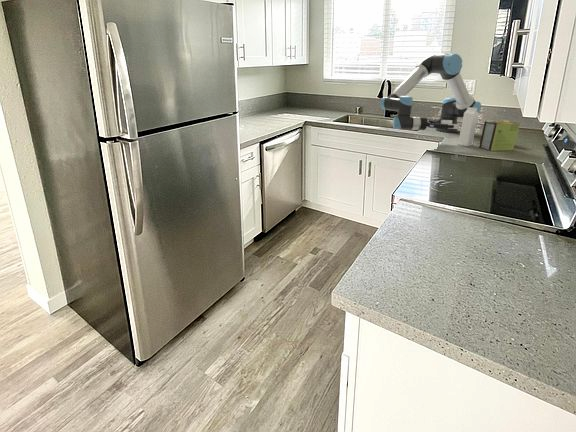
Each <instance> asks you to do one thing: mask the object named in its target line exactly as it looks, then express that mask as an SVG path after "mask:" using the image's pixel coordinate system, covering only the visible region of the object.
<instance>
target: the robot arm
mask: <svg viewBox="0 0 576 432" xmlns="http://www.w3.org/2000/svg"><path fill="white" fill-rule="evenodd" d="M414 67H415V68H414V70H412V72H411V73H409V75H408V76H407V77H405V79H404V80H403V81H402V82H401V83H400V84H399V85H398V86H397V87H396V88H395V89H394V90H393V91H392V92H391V93H390V94H389V95H388V96H383V97H382V98H381V99H380V101H379V106H380V108H381V109H382V110H386V111H393V112H397V114H396V116H393V118H392V128H393V129H394V130H408V131H409V130H410V131H411V130H412V131H415V130H416V131H418V130H419V131H425V130H426V129H427V128H429V129H435V131H438V132H444V133H457V132H459V129H460V125H461V124H460V123H459V122H458V118H460V119H461V118H462V119H463V116H464V113H465V111H466V110H467V108H468V107H471V108H477V112H478V113H479V114H480V112H481V110H482V103H481V102H480V101H478V100H477V101H476V100H475V98H474V96H473V95H471V94H470V93H469V91H468V88H467V86H466V84H465V82H464V79H463V78H462V75H461V71H462V68H463V59H462V57H461V55H460V54H458V53H453V52H450V53H438V52H437V53H432V54H430V55H428V56H427V57H425V58H423V59H422V60H421V61H419V63H418V64H416V66H414ZM432 74H437V75H438V74H439V76H440V77H441V79H442V80H444V81H446V84H447V86H448V87H449V89H450V91H451V93H452V95H453V97H445V98H444V99H443V100H442V105H441V110H440V111H441V112H440V117H439V118H438V119H428V118H427V117H425V116H423V117H422V116H420V117H419V116H411V114H412V108H413V96H411V95H408V94H409V93H410V92H411V91H412V90H413V89H414V88H415V87H416V86H417V85H418V84H419V83H420V82H421V81H422V80H423V78H424V79H425V78H427V77H428V76H429V75H432Z"/></svg>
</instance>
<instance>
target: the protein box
mask: <svg viewBox="0 0 576 432" xmlns="http://www.w3.org/2000/svg"><path fill="white" fill-rule="evenodd" d="M520 125H521V123H520V122H516V121H511V120H507V119H506V120H486V121H484V124H483V127H482V128H483V129H482V133H481V137H480V140H479V141H480V143H479V148H481V149H484V150H487V151H490V152H491V151H492V152H497V151H499V152H500V151H514V148H515V144H516V141H517V138H518V137H517V136H518V132H519V130H520Z"/></svg>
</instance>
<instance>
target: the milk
mask: <svg viewBox="0 0 576 432" xmlns="http://www.w3.org/2000/svg"><path fill="white" fill-rule="evenodd" d="M479 114H480V113H478V112H477V108H471V107H468V108H467V110H466V111H465V113H464V116H463V118H462V121H461V127H460V131H459V132H460V133H459V138H458V142H457V145H458V146H459V145H460V146H465V147H468V146H469V147H470V146H472V145H473V143H474V142H473V141H474V137H475V133H476V127H477V124H478V118H479Z"/></svg>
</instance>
